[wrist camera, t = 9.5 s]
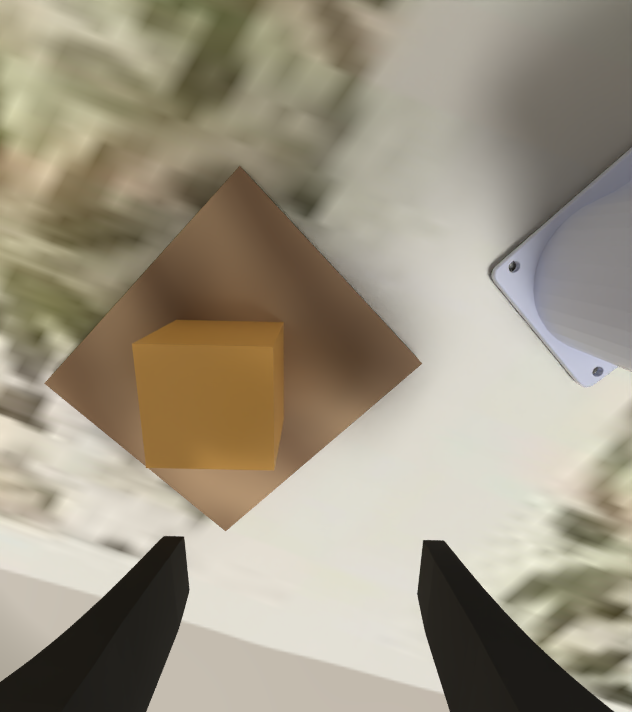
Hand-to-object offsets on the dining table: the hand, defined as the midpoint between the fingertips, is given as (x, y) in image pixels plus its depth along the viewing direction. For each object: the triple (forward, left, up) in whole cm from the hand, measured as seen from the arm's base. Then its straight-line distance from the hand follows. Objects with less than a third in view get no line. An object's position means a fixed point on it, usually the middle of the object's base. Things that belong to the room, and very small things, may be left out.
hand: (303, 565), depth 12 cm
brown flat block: (0, -5, -9) cm, 11 cm away
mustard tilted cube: (0, -5, -8) cm, 10 cm away
